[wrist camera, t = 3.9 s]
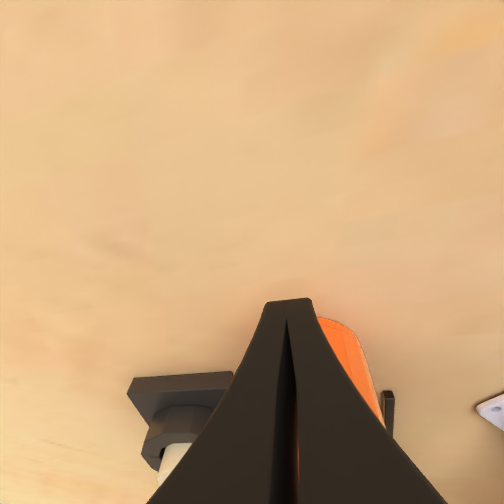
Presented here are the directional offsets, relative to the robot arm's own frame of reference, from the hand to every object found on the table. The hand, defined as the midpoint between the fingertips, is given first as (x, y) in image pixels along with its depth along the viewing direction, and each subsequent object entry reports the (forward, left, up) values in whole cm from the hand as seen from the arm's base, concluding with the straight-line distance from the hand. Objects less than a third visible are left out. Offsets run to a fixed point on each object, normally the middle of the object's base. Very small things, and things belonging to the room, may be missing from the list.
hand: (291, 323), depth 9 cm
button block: (+16, +5, -5) cm, 17 cm away
